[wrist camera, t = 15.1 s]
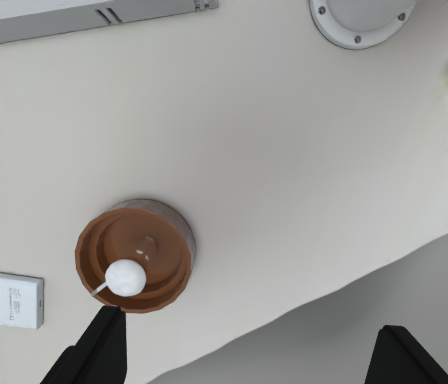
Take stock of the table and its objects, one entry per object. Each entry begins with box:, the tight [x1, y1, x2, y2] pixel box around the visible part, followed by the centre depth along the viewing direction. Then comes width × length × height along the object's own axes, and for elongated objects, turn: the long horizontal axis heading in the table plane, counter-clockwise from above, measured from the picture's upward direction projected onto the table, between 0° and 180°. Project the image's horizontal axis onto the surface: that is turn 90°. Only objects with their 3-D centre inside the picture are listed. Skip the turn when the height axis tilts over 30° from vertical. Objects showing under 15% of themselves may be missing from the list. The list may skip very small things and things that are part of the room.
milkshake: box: [91, 237, 157, 297], centre depth 31 cm, size 4×5×10 cm
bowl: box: [75, 199, 195, 314], centre depth 34 cm, size 15×15×5 cm
